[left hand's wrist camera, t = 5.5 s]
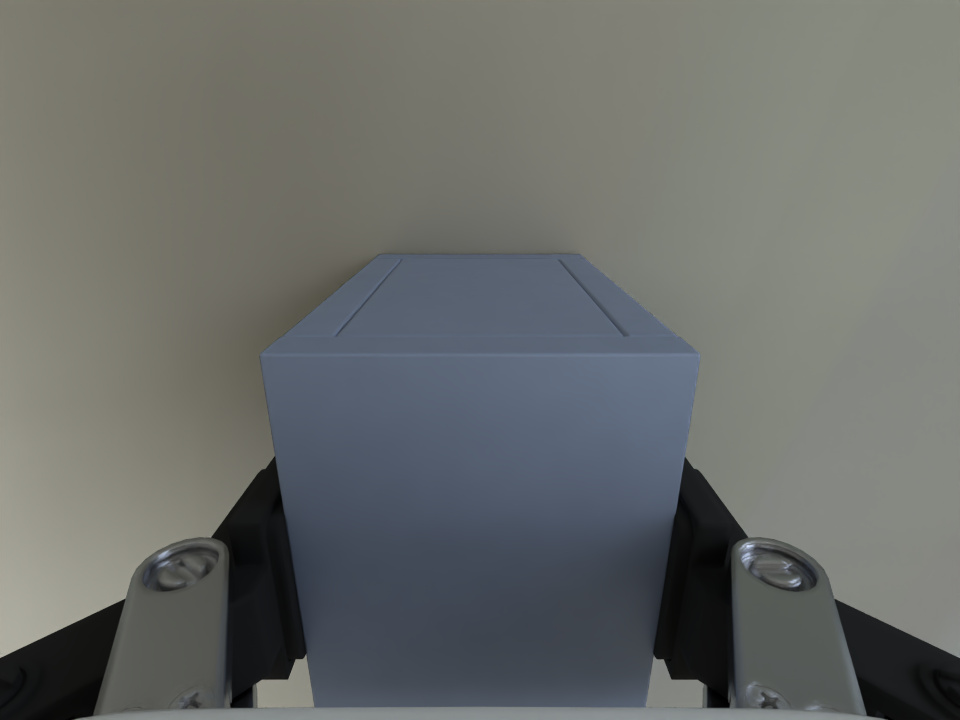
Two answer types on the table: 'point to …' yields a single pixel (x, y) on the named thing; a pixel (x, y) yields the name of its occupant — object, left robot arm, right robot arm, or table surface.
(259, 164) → the table surface
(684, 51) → the table surface
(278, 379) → the blue-grey rectangular block
